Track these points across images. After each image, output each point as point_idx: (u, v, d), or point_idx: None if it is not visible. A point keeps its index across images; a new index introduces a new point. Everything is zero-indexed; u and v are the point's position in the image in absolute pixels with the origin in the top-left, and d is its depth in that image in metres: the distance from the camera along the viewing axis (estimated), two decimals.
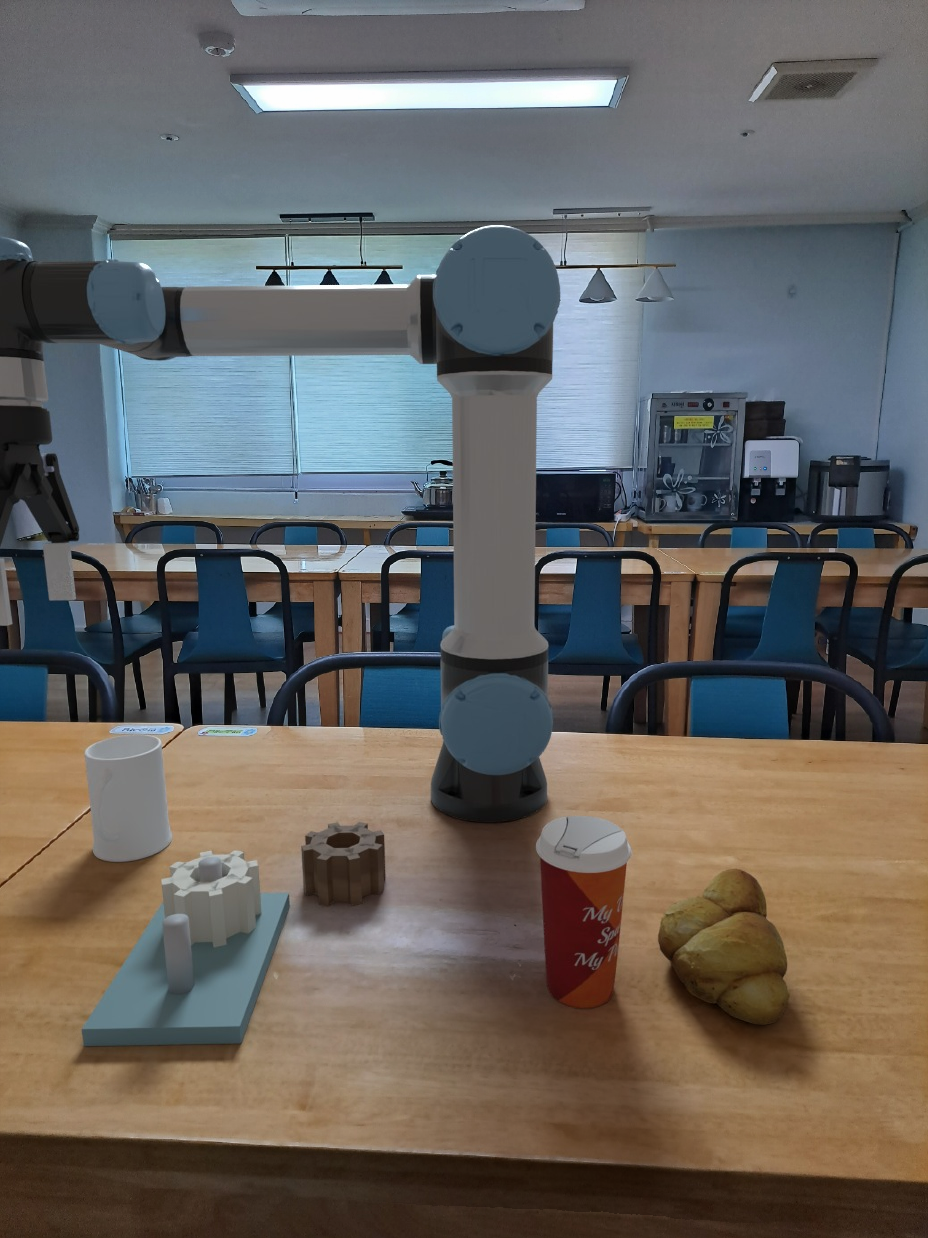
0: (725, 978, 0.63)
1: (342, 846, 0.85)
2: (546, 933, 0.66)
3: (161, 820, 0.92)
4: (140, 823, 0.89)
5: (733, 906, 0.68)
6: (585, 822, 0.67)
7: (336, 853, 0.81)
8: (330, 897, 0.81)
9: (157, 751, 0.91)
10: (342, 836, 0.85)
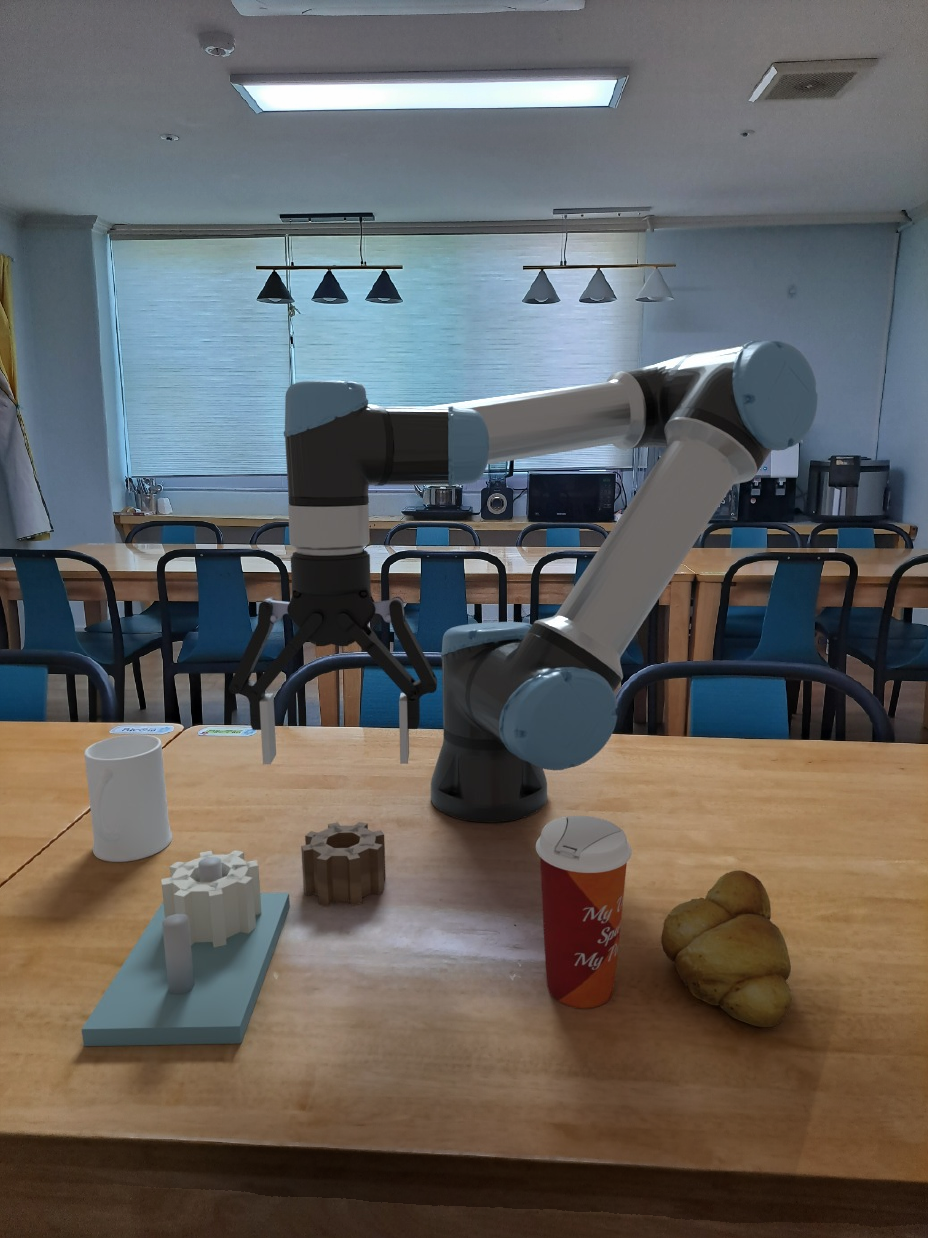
0: (727, 980, 0.63)
1: (342, 846, 0.85)
2: (546, 933, 0.66)
3: (161, 820, 0.92)
4: (140, 823, 0.89)
5: (737, 908, 0.68)
6: (585, 822, 0.67)
7: (336, 853, 0.81)
8: (330, 897, 0.81)
9: (157, 751, 0.91)
10: (342, 836, 0.85)
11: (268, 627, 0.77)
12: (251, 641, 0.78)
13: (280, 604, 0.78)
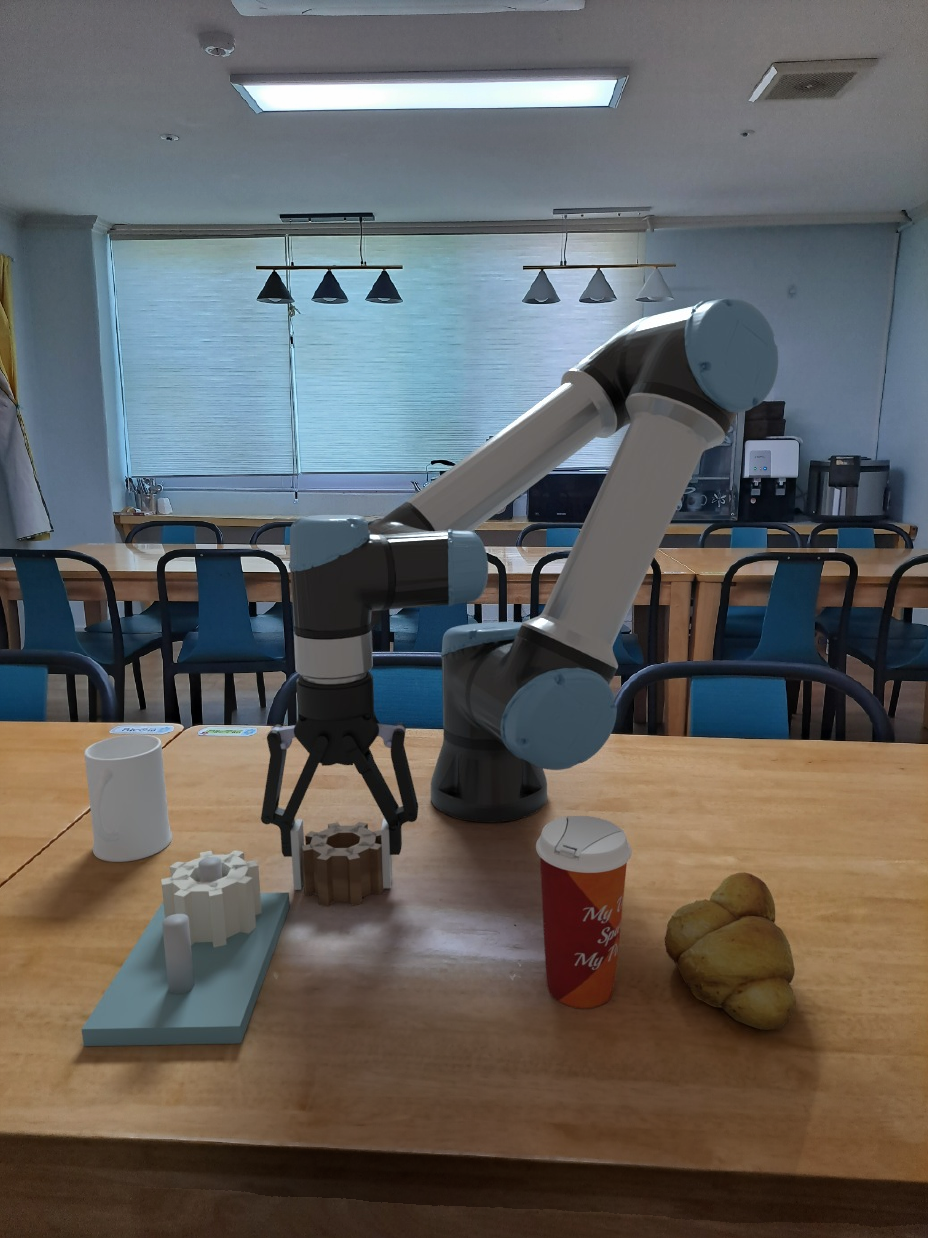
0: (730, 982, 0.63)
1: (342, 846, 0.85)
2: (546, 933, 0.66)
3: (161, 820, 0.92)
4: (140, 823, 0.89)
5: (741, 910, 0.68)
6: (585, 822, 0.67)
7: (336, 853, 0.81)
8: (330, 897, 0.81)
9: (157, 751, 0.91)
10: (342, 836, 0.85)
11: (281, 755, 0.80)
12: (269, 772, 0.80)
13: (286, 730, 0.80)
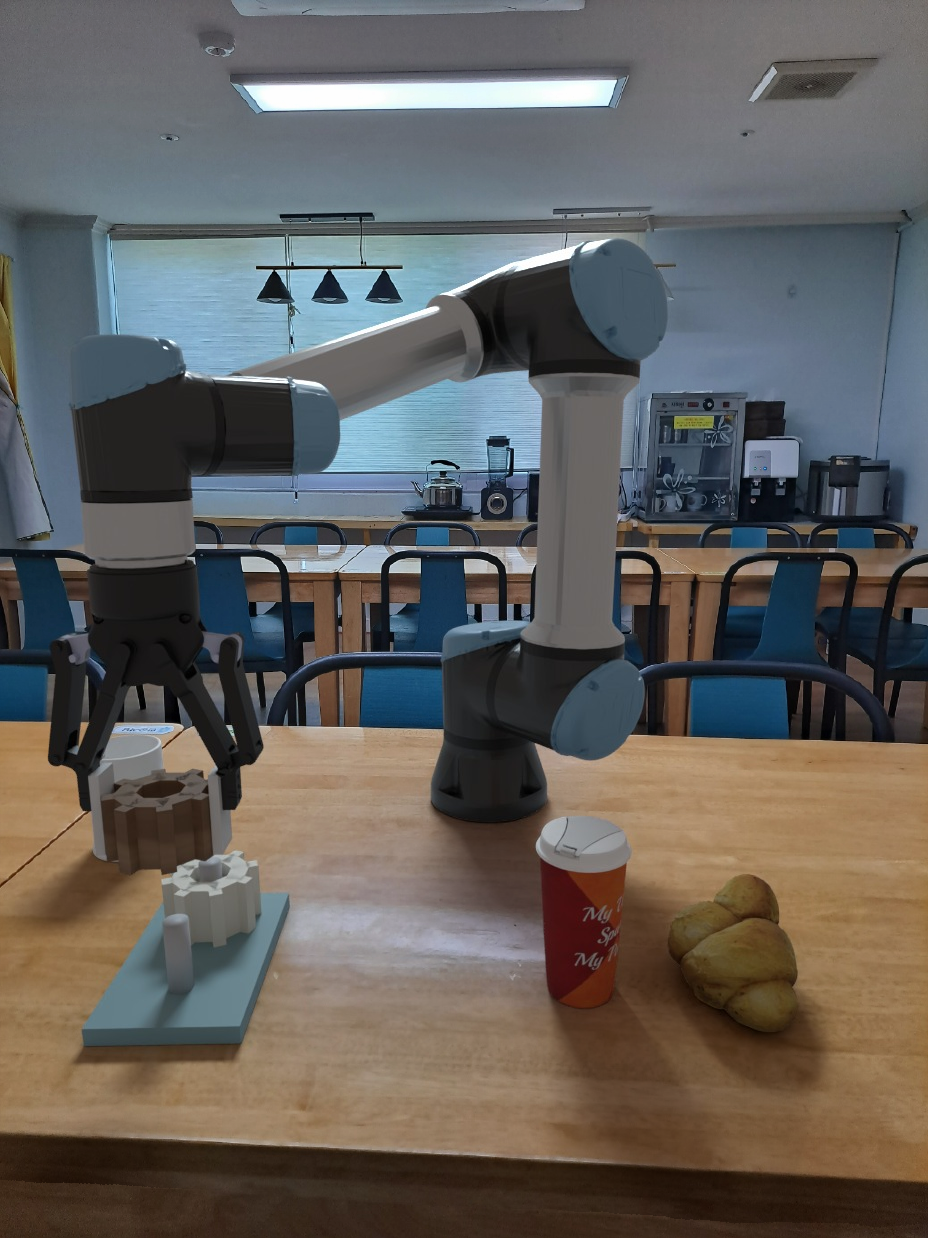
0: (732, 984, 0.62)
1: None
2: (546, 933, 0.66)
3: None
4: None
5: (744, 912, 0.67)
6: (585, 822, 0.67)
7: (143, 804, 0.60)
8: (134, 863, 0.60)
9: (157, 751, 0.91)
10: (164, 785, 0.64)
11: (70, 671, 0.59)
12: (55, 695, 0.60)
13: (79, 638, 0.60)
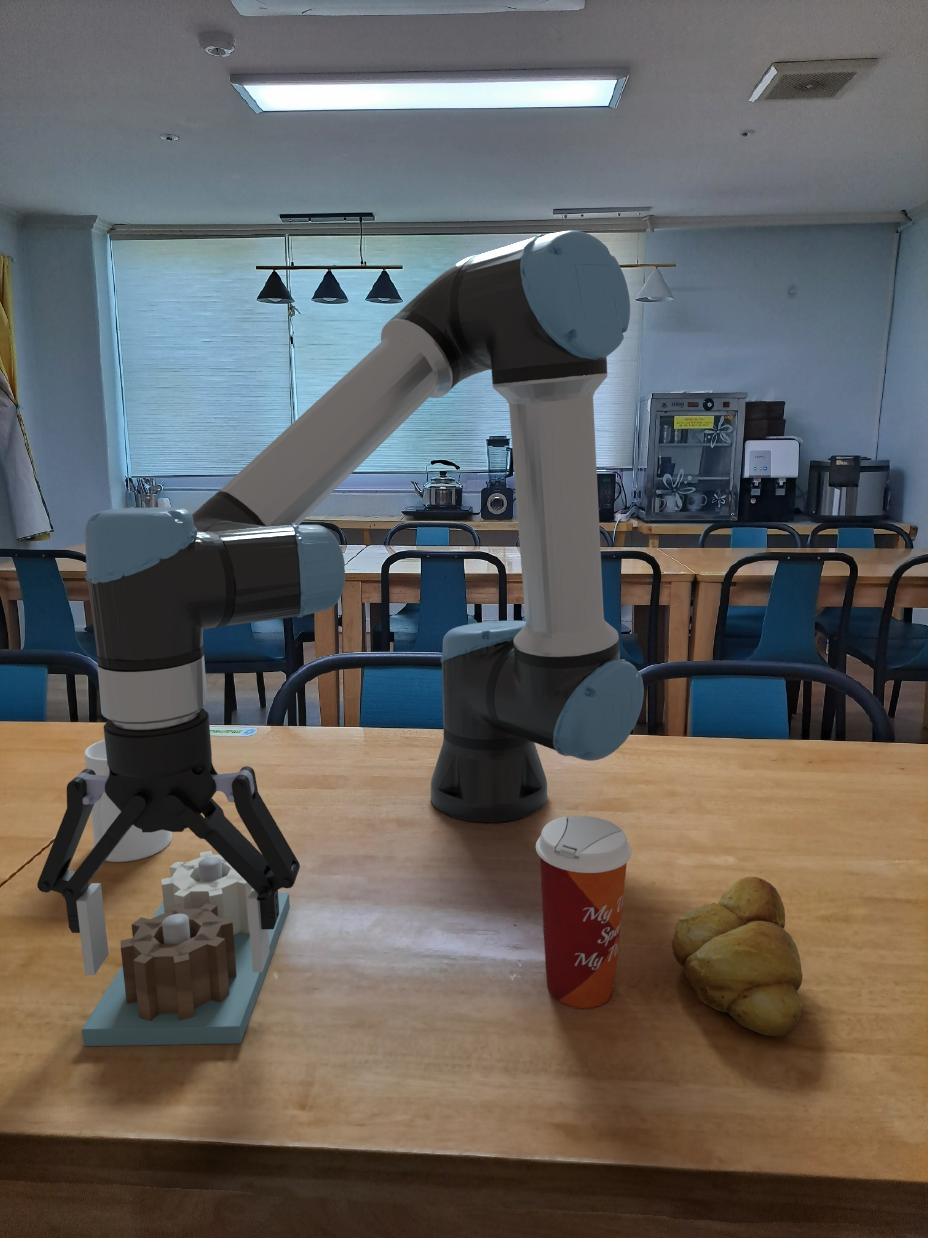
0: (735, 987, 0.62)
1: None
2: (546, 933, 0.66)
3: None
4: None
5: (749, 915, 0.67)
6: (585, 822, 0.67)
7: (161, 952, 0.62)
8: (153, 1009, 0.62)
9: None
10: None
11: (81, 811, 0.62)
12: (61, 829, 0.62)
13: (96, 781, 0.62)
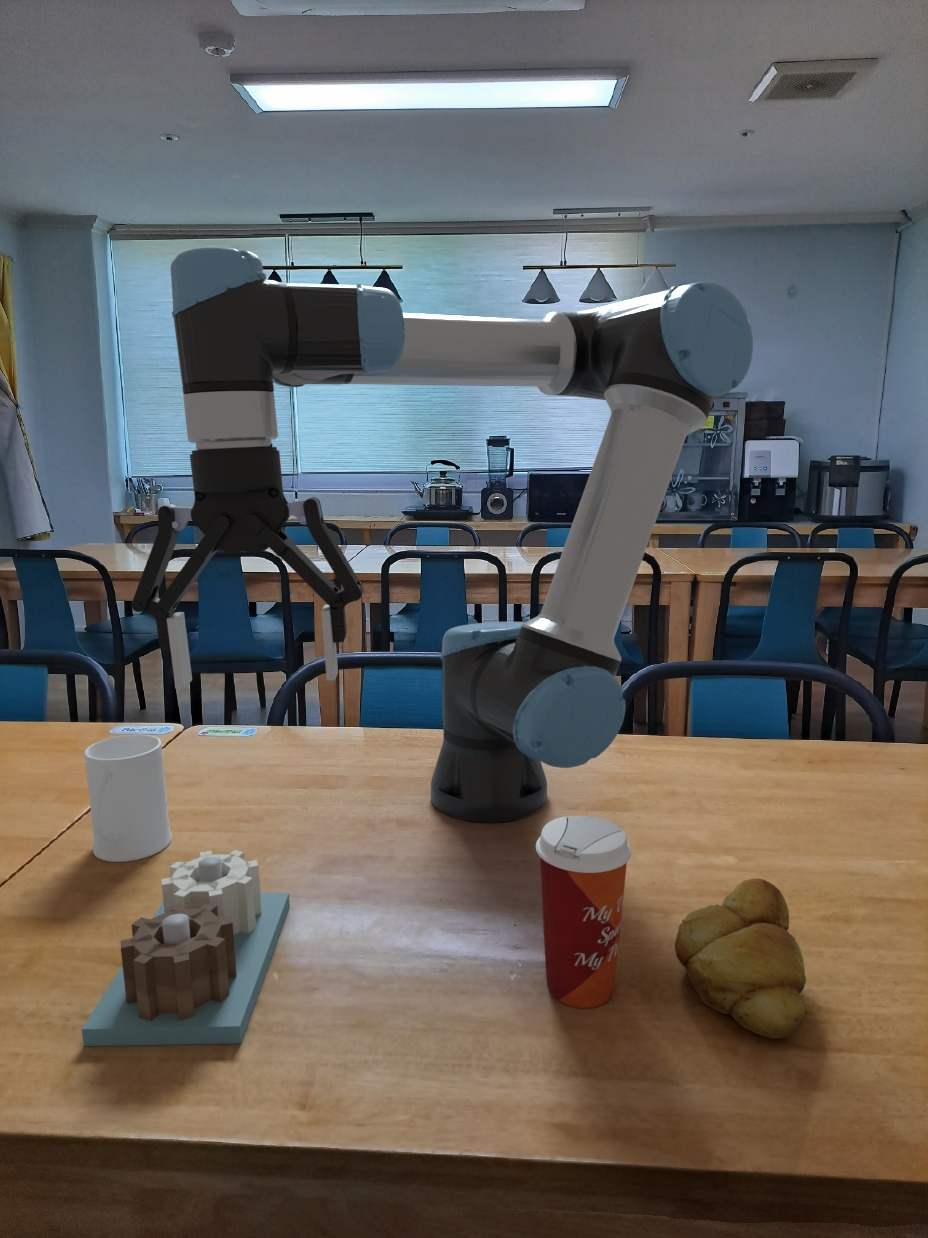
0: (737, 988, 0.62)
1: None
2: (546, 933, 0.66)
3: (161, 820, 0.92)
4: (140, 823, 0.89)
5: (752, 916, 0.67)
6: (585, 822, 0.67)
7: (161, 952, 0.62)
8: (153, 1009, 0.62)
9: (157, 751, 0.91)
10: None
11: (170, 535, 0.70)
12: (152, 551, 0.70)
13: (183, 509, 0.70)
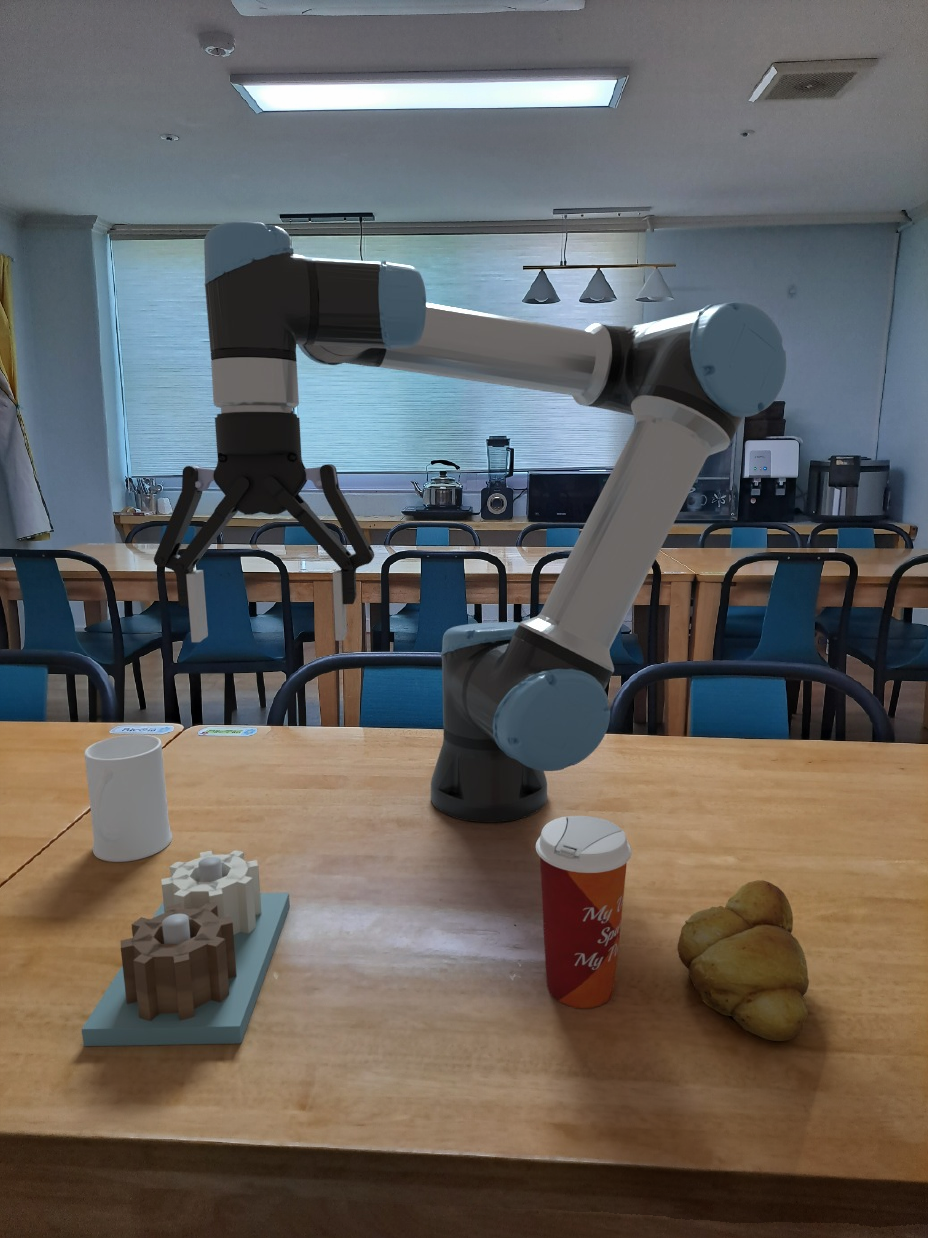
0: (739, 990, 0.62)
1: None
2: (546, 933, 0.66)
3: (161, 820, 0.92)
4: (140, 823, 0.89)
5: (755, 918, 0.66)
6: (585, 822, 0.67)
7: (161, 952, 0.62)
8: (153, 1009, 0.62)
9: (157, 751, 0.91)
10: None
11: (193, 494, 0.74)
12: (176, 509, 0.74)
13: (206, 470, 0.74)
